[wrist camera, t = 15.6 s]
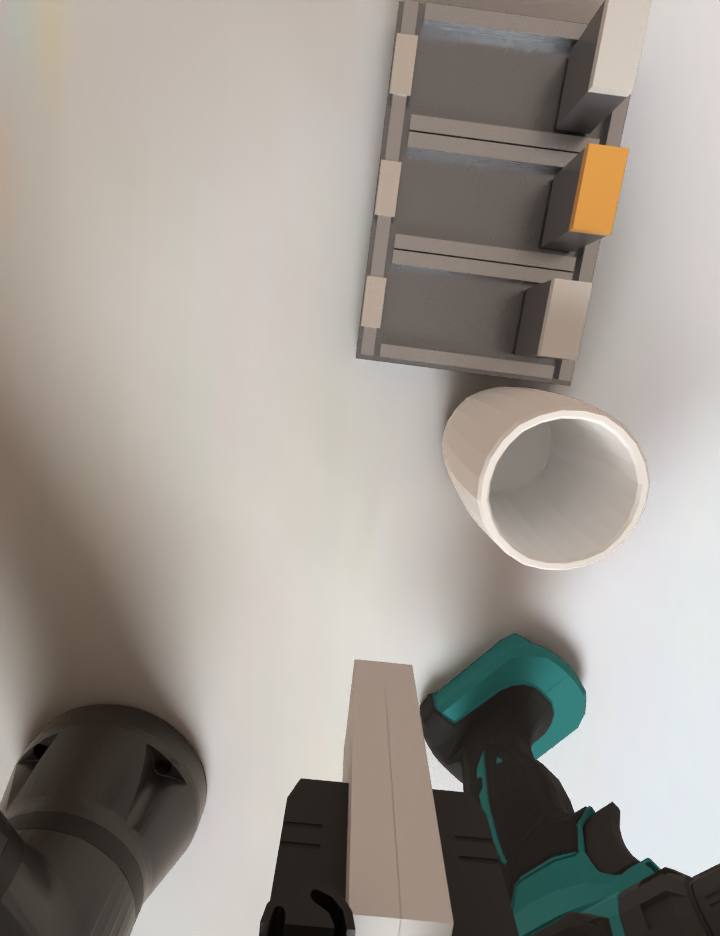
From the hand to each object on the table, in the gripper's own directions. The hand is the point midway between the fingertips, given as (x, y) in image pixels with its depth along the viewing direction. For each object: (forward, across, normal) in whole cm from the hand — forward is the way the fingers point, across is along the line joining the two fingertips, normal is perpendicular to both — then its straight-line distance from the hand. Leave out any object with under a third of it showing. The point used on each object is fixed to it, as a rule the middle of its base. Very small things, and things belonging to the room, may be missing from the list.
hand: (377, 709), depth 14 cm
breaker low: (+23, +9, +12) cm, 27 cm away
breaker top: (+23, +10, +25) cm, 35 cm away
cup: (+26, +9, +4) cm, 28 cm away
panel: (+26, +6, +19) cm, 32 cm away
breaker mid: (+23, +10, +18) cm, 31 cm away
